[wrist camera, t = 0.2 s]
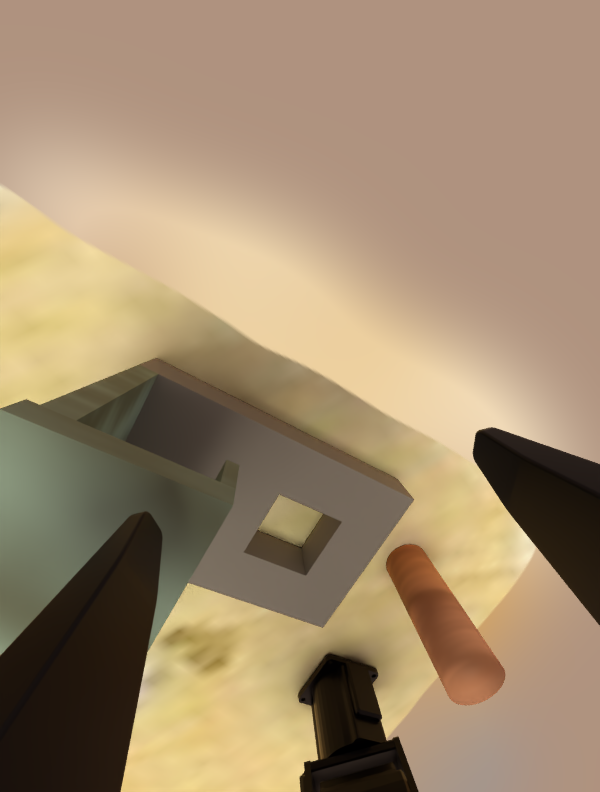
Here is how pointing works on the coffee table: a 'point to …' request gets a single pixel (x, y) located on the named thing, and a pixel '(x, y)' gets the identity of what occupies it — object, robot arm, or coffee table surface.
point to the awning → (93, 496)
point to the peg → (445, 628)
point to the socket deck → (271, 497)
